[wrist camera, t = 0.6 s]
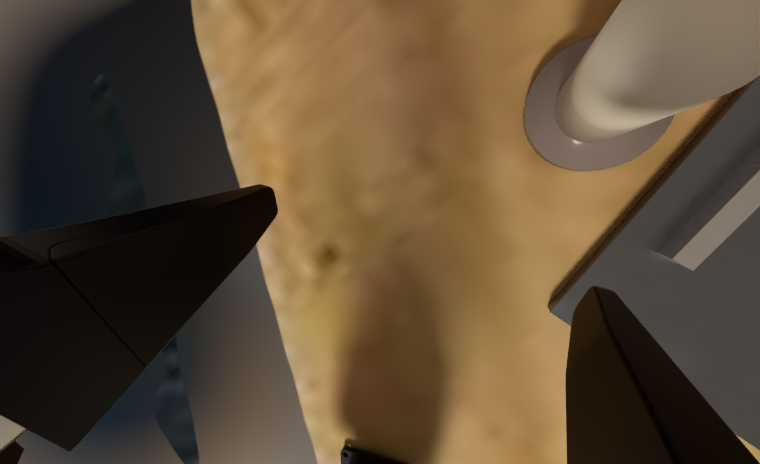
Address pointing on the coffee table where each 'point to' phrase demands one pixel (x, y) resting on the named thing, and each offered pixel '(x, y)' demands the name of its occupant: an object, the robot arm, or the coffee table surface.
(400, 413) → the coffee table surface
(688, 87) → the beige flared base peg
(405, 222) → the coffee table surface
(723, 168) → the keeper board
